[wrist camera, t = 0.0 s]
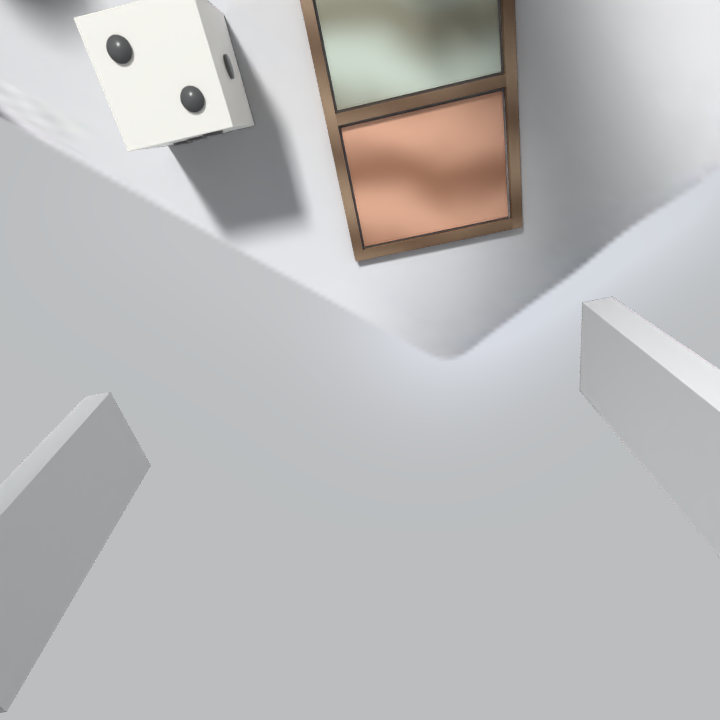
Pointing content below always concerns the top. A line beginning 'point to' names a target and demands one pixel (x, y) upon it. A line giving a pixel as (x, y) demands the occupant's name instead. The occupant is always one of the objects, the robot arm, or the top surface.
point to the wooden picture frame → (420, 117)
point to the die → (166, 71)
